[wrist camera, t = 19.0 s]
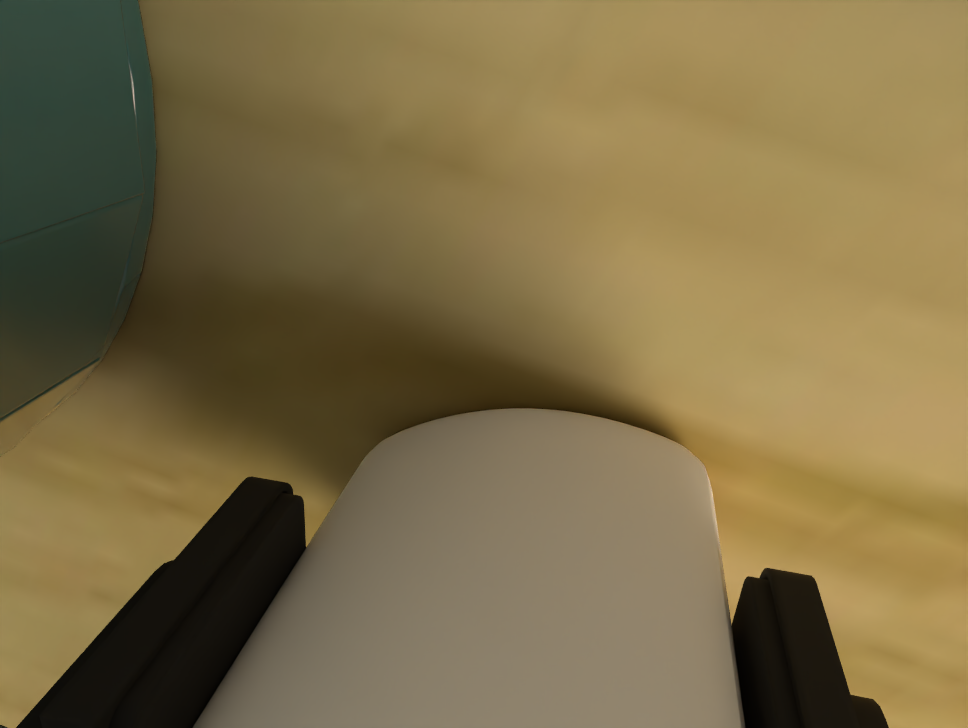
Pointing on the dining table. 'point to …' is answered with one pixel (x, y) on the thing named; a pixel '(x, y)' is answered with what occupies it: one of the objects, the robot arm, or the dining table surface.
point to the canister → (69, 194)
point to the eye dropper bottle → (501, 588)
